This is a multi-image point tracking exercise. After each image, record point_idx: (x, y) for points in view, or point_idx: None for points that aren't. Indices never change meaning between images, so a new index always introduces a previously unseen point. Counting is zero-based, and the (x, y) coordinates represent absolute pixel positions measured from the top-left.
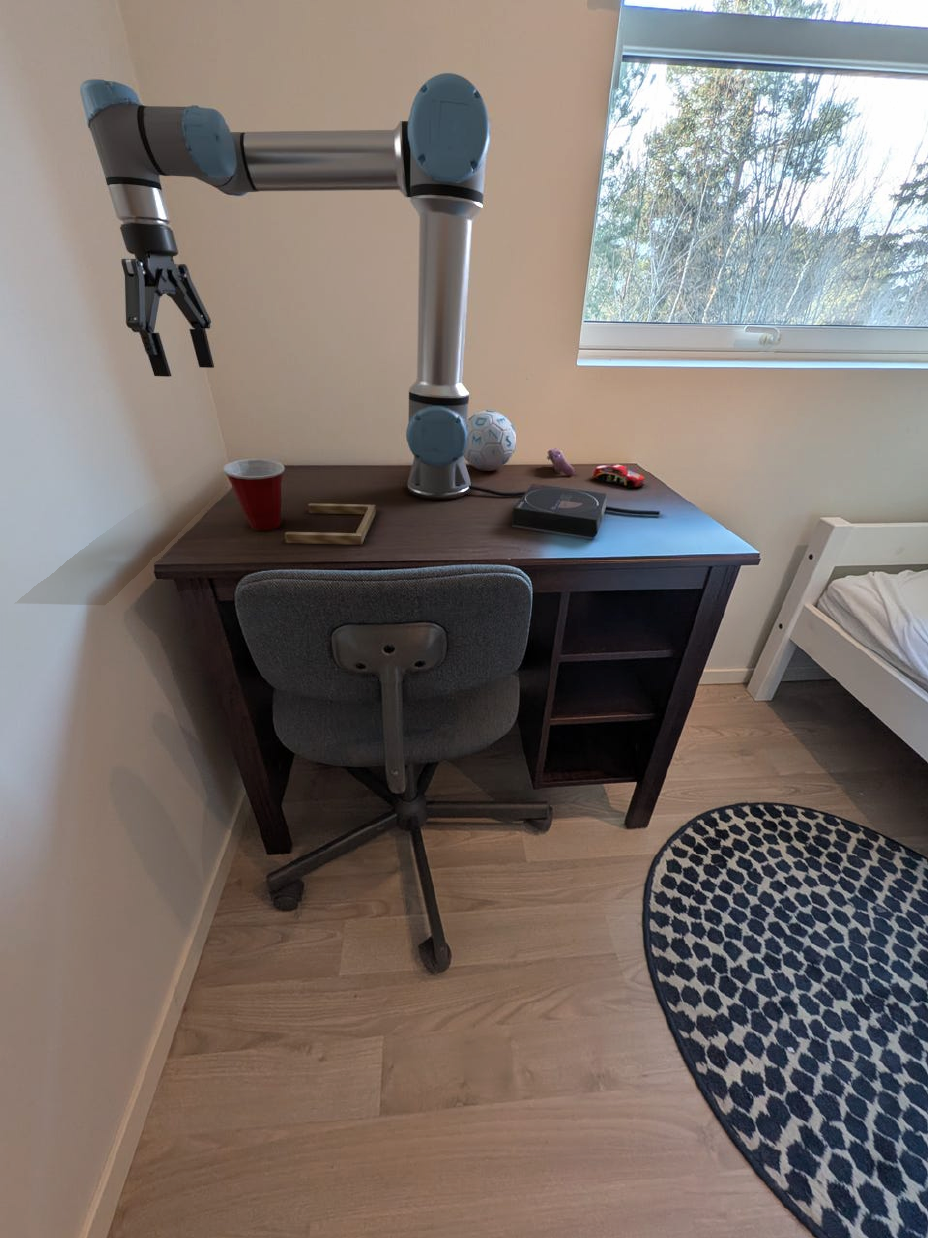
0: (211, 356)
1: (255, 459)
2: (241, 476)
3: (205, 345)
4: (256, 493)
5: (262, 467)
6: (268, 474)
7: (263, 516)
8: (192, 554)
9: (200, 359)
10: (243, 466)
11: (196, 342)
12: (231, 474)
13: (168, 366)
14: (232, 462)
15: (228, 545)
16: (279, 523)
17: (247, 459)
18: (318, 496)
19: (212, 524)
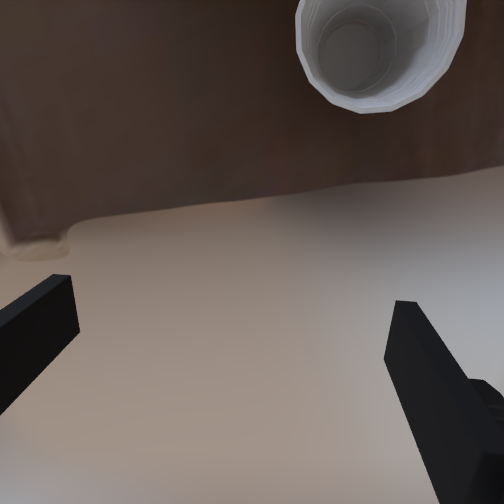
0: (24, 295)
1: (304, 58)
2: (464, 22)
3: (3, 334)
4: (424, 13)
5: (306, 42)
6: (309, 29)
7: (392, 31)
8: (488, 138)
9: (59, 337)
10: (328, 88)
11: (4, 388)
12: (452, 58)
13: (411, 321)
14: (350, 105)
15: (452, 89)
16: (353, 20)
17: (312, 79)
18: (161, 3)
19: (347, 172)
